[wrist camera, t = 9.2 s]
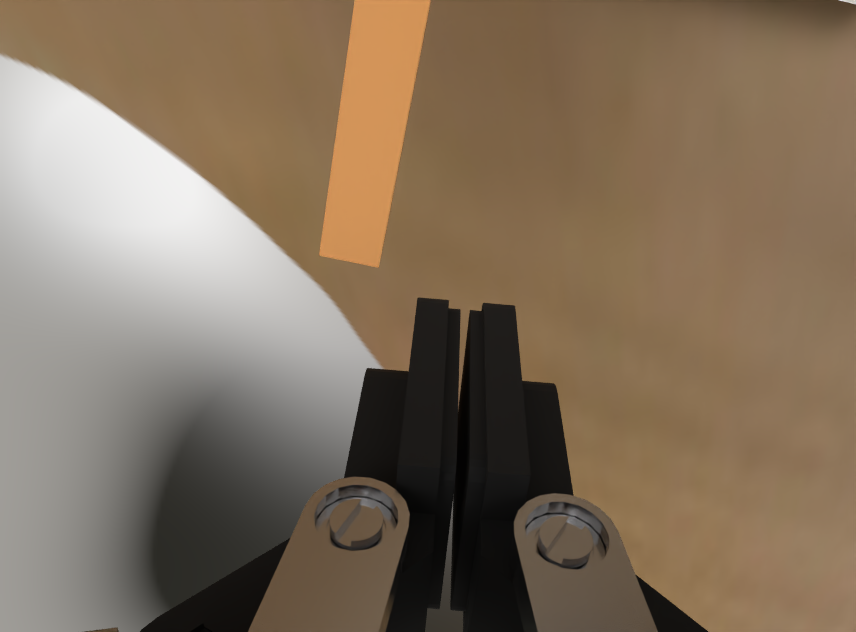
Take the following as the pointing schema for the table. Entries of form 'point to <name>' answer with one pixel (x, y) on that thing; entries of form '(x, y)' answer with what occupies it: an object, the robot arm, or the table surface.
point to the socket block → (849, 1)
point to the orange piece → (372, 126)
